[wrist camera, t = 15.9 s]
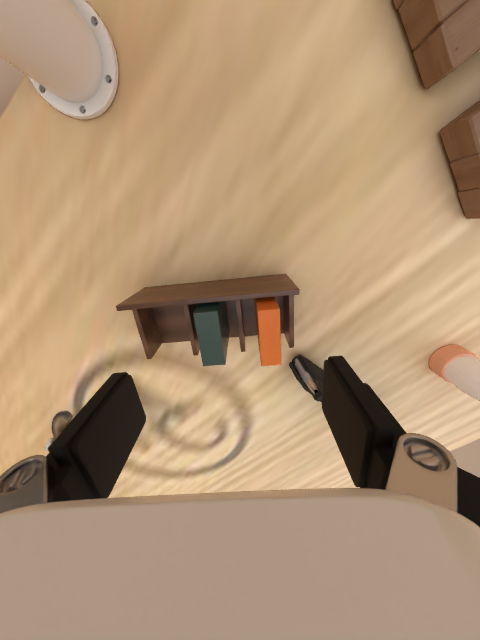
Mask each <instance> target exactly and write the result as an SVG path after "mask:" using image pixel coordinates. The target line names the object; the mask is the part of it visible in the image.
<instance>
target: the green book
mask: <svg viewBox="0 0 480 640" xmlns="http://www.w3.org/2000/svg"><path fill="white" fill-rule="evenodd" d="M193 316H194V321H195V326H196V331H197V336H198V342H199V347H200V352H201V357H202V362H203V366H205V367H209V366H222V365H225V363H226V356H227V348H228V340H229V332H230V330H229V322H228V315H227V307H226V301H221V302H210V303H199V304H198V306H197V307H196V309H195V311H194V313H193Z"/></svg>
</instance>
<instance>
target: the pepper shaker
mask: <svg viewBox="0 0 480 640" xmlns="http://www.w3.org/2000/svg"><path fill="white" fill-rule="evenodd" d="M429 367H430V369H431V370H433V371H434V372H435V373H436V374H438V375H439V376H440V377H442V378H443V379H444V380H446V381H448V382H451V383H453V384H454V385H455V386H456V387H458V388H459V389H460V390H461V391H463V392H464V393H466V394H468V395H470V396H471V397H473V398H475V399H477V400H478V401H480V360H479V358H478V357H477V356H476V355H475V354H473V353H471V352H469V351H468V350H466V349H464V348H462V347H460V346H458V345H447V346H444V347H441V348H439V349H438V350H437V351H435V352H434V353H433V355H432V356H431V357H430V360H429Z"/></svg>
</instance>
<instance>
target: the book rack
mask: <svg viewBox="0 0 480 640" xmlns="http://www.w3.org/2000/svg"><path fill="white" fill-rule="evenodd" d="M298 294H299V288H298V287H297V286H296V285H295V284H294V283H293V281H292V280H291V279H290V278H289V277H288V276H287V275H286V274H280V275H270V276H259V277H249V278H238V279H228V280H218V281H207V282H197V283H186V284H176V285H165V286H155V287H145V288H144V289H142V290H140V291H139V292H137V293H136V294H134V295H132V296H131V297H129V298H128V299H126V300H125V301H123V302H122V303H120V304H118V305H117V306H116V308H117V311H122V310H132V311H133V314H134V318H135V321H136V324H137V327H138V331H139V334H140V337H141V340H142V344H143V347H144V350H145V353H146V356H147V359H152V357H153V356H154V354H155V353H156V351H157V350H158V348H159V347H160V345H161V344H162V343H169V342H181V341H191V345H192V350H193V355H198V353H199V350H200V347H199V342H198V336H197V331H196V326H195V321H194V316H193V313H194V311H195V309H196V307H197V306H198V304H199V303H210V302H221V301H226V307H227V315H228V322H229V330H230V332H229V337H239V338H240V347H241V352H244V351H245V336H253V335H257V327H256V314H255V301H254V298H265V297H275V299H276V302H277V304H278V306H279V308H280V333H284V334H285V337H286V340H287V342H288V345H289V347H290V348H293V347H294V295H298Z"/></svg>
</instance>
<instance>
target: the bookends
mask: <svg viewBox="0 0 480 640" xmlns="http://www.w3.org/2000/svg"><path fill="white" fill-rule="evenodd" d="M393 2H394V5H395V8H396V9H398V8H399V13H400V16H401V19H402V22H403V25H404V28H405V31H406V34H407V37H408V40H409V43H410V46H411V49H412V50H414V53H413V55H414V58H415V61H416V64H417V67H418V70H419V73H420V76H421V79H422V82H423V85H424V88H425V89H429V88H430V87H431V86H433V85H434V84H435V83H437V82H438V81H440V80H441V79H442V78H444V77H445V76H446V75H448V74H449V73H450V72H452V71H453V70H454V69H456V68H457V67H458V66H460V65H461V64H462V63H463V62H465V61H466V60H467V59H468V58H469V57H471V56H472V55H473V54H474V53H476V52H477V51H478V50H479V49H480V0H393ZM440 135H441V138H442V141H443V144H444V147H445V150H446V153H447V156H448V159H449V161H451V164H450V165H451V168H452V171H453V174H454V177H455V180H456V183H457V186H458V189H459V192H458V195H459V198H460V201H461V204H462V207H463V210H464V213H465V216H466V218H467V219H470V218H480V101H478V102H477V103H476V104H474V105H473V106H472V107H470V108H469V109H468V110H466V111H465V112H464V113H462V114H461V115H460V116H458V117H457V118H456V119H454V120H453V121H452V122H450V123H449V124H448V125H446V126H445V127H444V128H442V129H441V131H440Z"/></svg>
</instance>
